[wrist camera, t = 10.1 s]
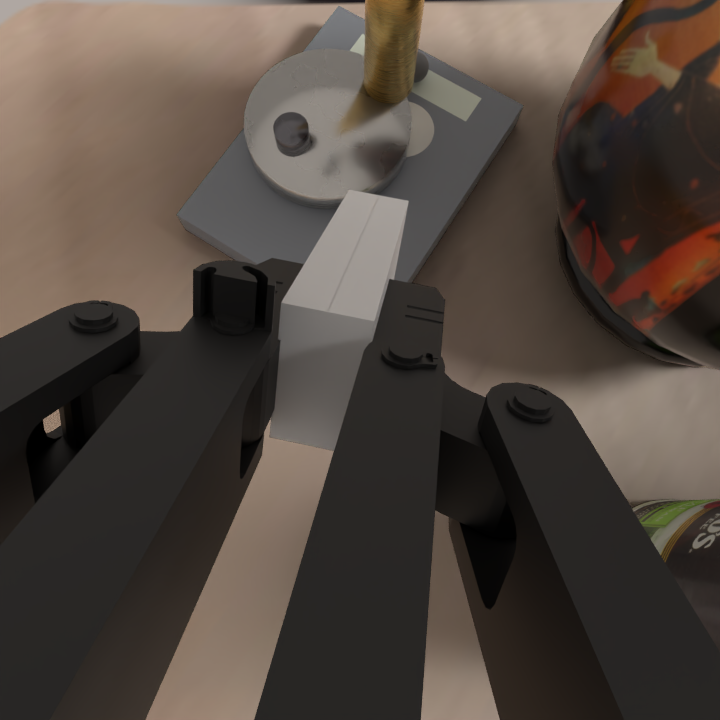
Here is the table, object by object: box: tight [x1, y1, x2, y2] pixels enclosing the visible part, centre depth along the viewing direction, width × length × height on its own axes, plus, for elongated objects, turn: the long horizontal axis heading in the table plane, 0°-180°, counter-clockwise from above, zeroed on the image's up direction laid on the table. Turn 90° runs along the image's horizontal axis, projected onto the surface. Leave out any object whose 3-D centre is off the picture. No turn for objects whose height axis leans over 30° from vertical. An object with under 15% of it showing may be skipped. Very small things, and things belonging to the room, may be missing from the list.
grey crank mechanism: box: [177, 6, 524, 283], centre depth 39 cm, size 18×14×4 cm
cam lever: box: [244, 0, 424, 209], centre depth 32 cm, size 10×11×15 cm
